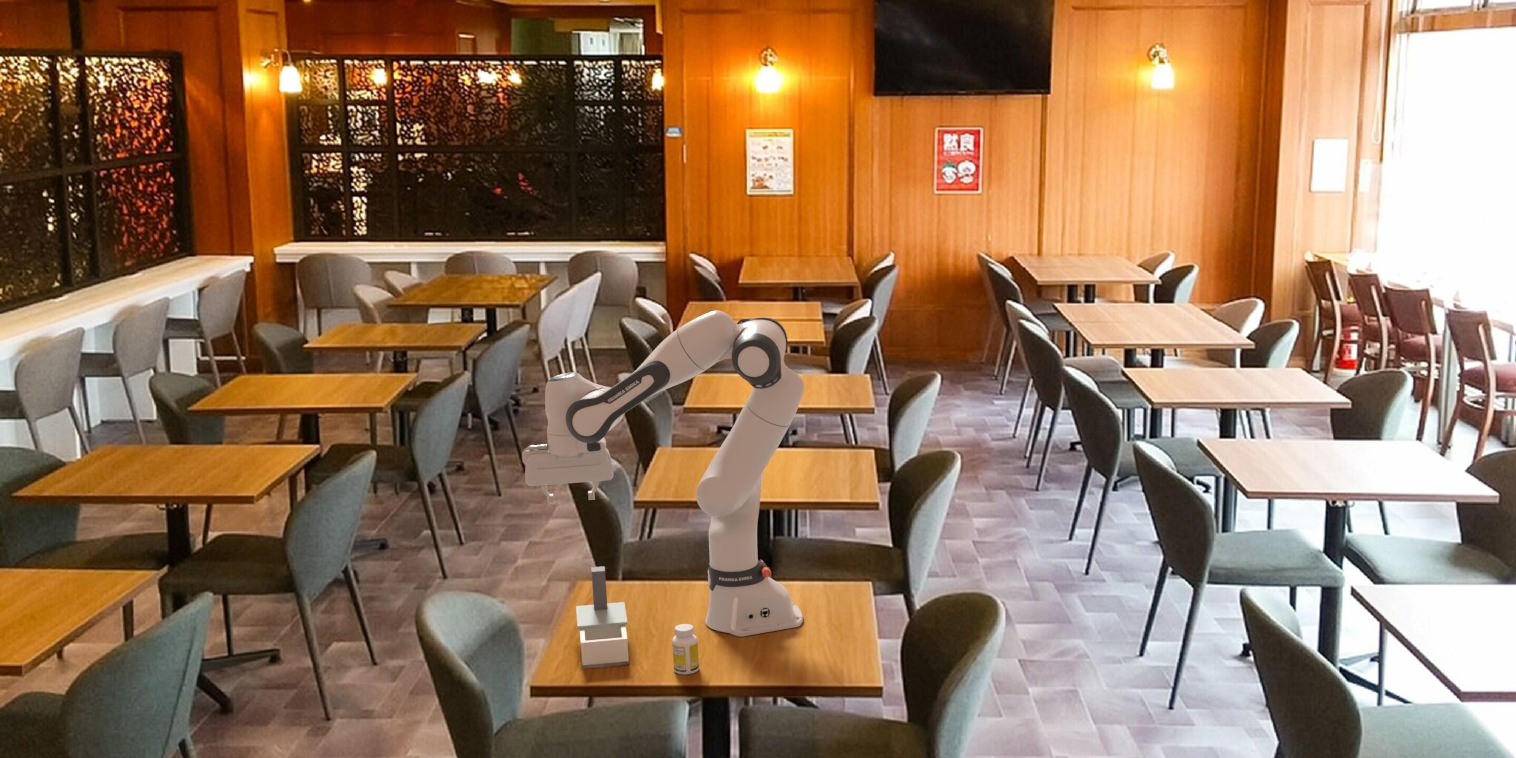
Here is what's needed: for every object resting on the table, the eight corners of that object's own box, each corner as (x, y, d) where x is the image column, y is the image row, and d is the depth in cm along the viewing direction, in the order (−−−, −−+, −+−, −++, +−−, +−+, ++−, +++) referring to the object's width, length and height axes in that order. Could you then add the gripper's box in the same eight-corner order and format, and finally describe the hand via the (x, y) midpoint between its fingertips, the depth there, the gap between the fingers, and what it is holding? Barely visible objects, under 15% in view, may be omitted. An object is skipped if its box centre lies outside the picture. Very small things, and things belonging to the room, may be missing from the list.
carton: (581, 648, 321) (579, 623, 319) (625, 644, 322) (624, 619, 321) (582, 668, 310) (580, 642, 309) (628, 664, 311) (627, 638, 310)
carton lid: (576, 608, 327) (573, 568, 325) (624, 604, 329) (622, 563, 327) (577, 628, 316) (574, 587, 314) (627, 624, 317) (625, 582, 315)
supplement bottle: (697, 663, 311) (695, 621, 309) (700, 673, 306) (698, 630, 303) (672, 666, 310) (670, 623, 308) (675, 676, 305) (673, 633, 302)
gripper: (521, 449, 323) (525, 508, 326) (612, 443, 326) (615, 501, 329) (521, 442, 329) (525, 500, 333) (610, 436, 332) (614, 493, 335)
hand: (571, 500), depth 331 cm, fingers open, 8 cm apart
